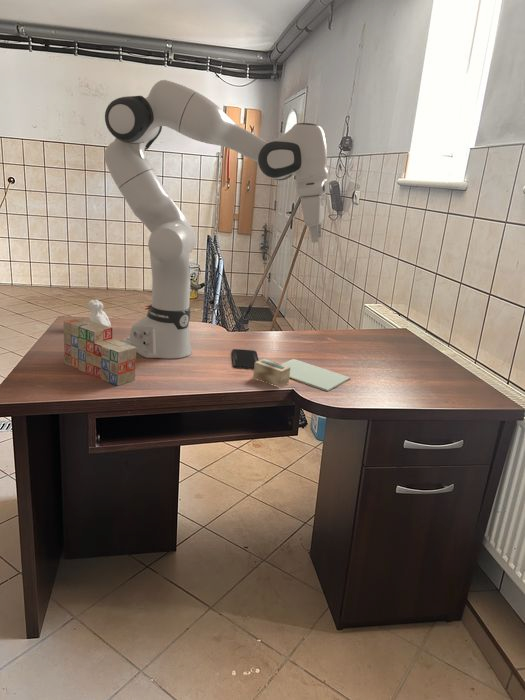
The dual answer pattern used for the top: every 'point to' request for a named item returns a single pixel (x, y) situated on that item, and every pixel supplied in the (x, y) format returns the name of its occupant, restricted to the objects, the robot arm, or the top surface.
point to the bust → (98, 313)
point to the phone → (244, 358)
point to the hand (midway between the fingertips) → (316, 240)
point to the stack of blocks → (98, 351)
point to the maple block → (271, 372)
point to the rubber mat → (314, 375)
